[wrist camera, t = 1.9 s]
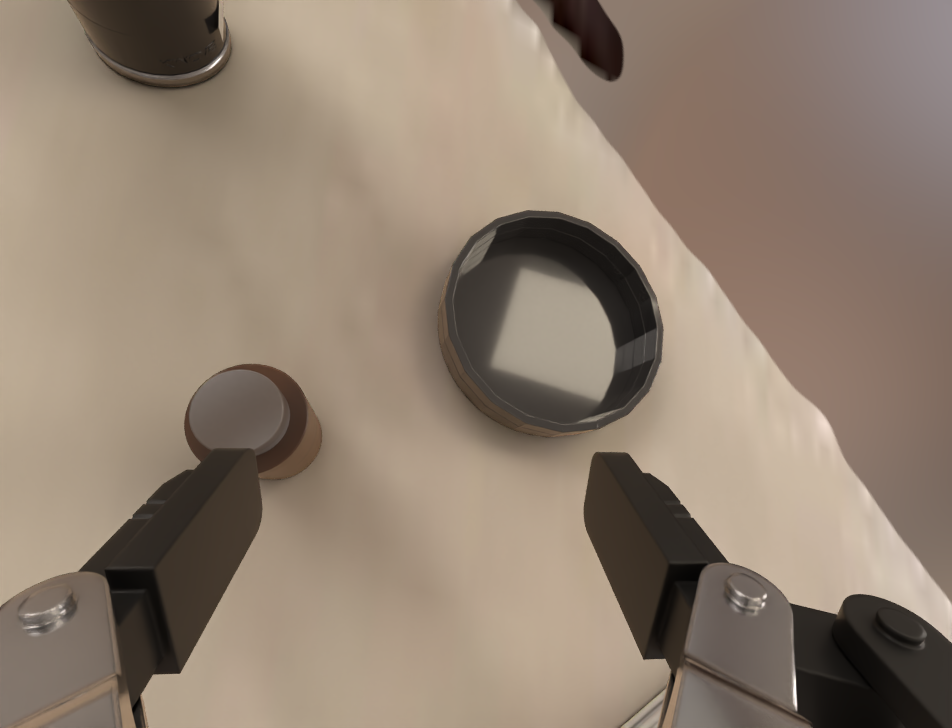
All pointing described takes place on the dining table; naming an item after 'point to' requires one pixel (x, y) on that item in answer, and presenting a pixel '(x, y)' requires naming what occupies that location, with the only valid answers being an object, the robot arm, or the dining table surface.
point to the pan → (549, 325)
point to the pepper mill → (255, 419)
